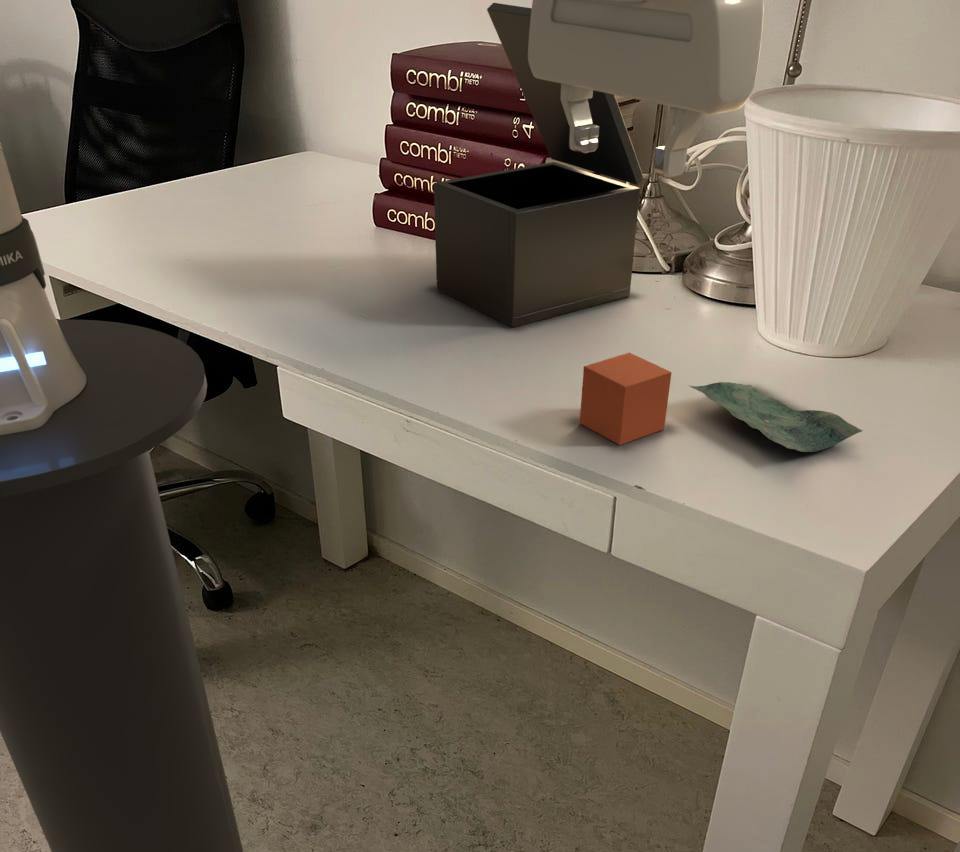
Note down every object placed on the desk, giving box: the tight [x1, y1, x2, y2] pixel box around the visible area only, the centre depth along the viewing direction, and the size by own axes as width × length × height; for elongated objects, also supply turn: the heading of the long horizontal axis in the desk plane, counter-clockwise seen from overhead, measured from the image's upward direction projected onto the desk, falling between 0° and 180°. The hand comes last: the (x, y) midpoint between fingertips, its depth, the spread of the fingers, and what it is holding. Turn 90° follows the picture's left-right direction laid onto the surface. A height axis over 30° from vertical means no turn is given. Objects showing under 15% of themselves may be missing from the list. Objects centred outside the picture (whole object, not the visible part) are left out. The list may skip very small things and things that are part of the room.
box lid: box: [486, 2, 645, 186], centre depth 96 cm, size 17×14×5 cm
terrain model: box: [687, 381, 863, 453], centre depth 80 cm, size 13×8×2 cm, turn 29°
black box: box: [433, 161, 641, 328], centre depth 102 cm, size 16×14×11 cm
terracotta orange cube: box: [579, 352, 672, 446], centre depth 79 cm, size 5×5×5 cm
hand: (624, 162), depth 73 cm, fingers open, 8 cm apart
